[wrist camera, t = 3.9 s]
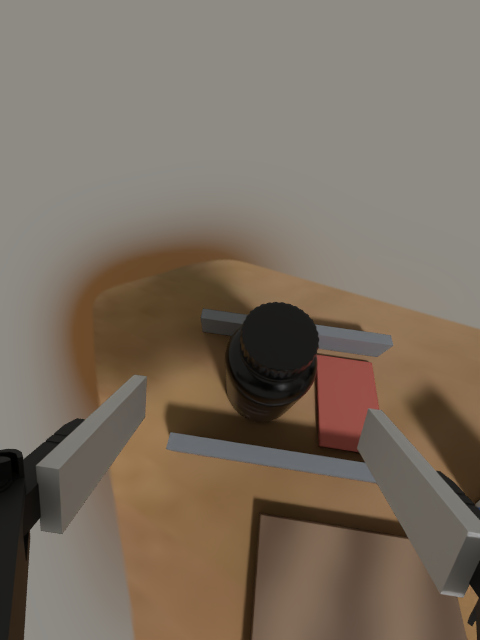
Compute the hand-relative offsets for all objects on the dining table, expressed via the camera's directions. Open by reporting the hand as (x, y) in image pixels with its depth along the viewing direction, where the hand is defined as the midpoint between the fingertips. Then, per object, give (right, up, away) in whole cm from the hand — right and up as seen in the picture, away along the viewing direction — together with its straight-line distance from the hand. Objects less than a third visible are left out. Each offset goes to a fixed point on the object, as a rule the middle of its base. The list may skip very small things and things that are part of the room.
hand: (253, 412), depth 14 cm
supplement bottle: (+1, -2, +11) cm, 11 cm away
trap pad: (+10, -3, +10) cm, 15 cm away
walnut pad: (+7, -15, +2) cm, 17 cm away
